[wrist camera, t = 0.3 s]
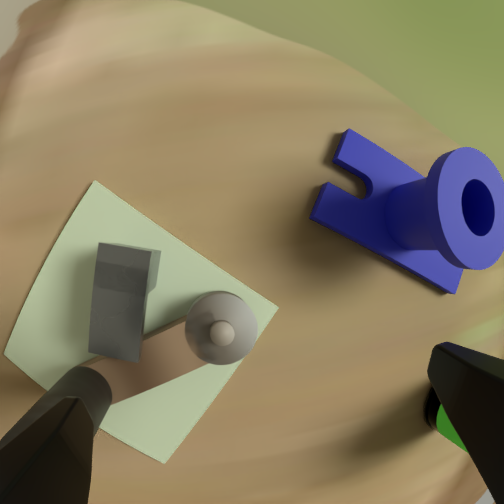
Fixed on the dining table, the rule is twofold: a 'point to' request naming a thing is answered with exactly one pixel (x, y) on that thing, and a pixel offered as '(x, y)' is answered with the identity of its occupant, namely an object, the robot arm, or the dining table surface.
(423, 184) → the mount
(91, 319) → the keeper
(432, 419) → the bottle
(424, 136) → the dining table surface
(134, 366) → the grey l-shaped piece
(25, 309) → the plate
